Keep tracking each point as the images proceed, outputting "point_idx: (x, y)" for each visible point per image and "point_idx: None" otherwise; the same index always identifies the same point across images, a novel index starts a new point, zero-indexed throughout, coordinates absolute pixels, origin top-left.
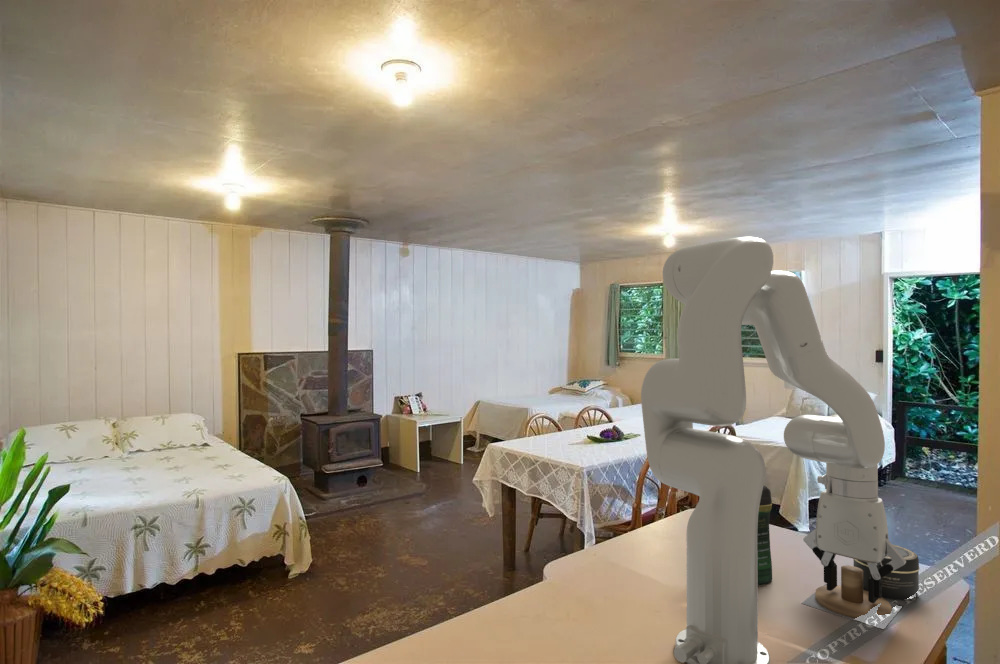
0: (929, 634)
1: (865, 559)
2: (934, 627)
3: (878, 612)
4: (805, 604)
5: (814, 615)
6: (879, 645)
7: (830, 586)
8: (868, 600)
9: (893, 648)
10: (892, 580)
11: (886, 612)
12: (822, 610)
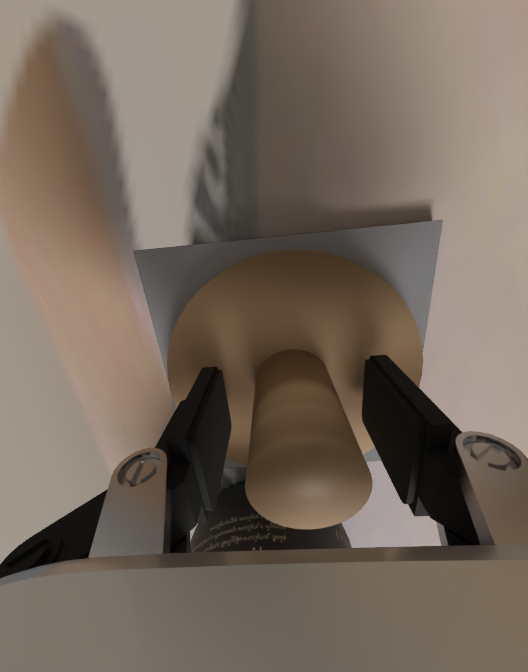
0: (77, 363)
1: (82, 586)
2: (98, 416)
3: (181, 336)
4: (425, 224)
5: (368, 182)
6: (93, 118)
7: (375, 364)
8: (220, 370)
9: (57, 143)
10: (217, 551)
11: (167, 361)
12: (353, 229)
